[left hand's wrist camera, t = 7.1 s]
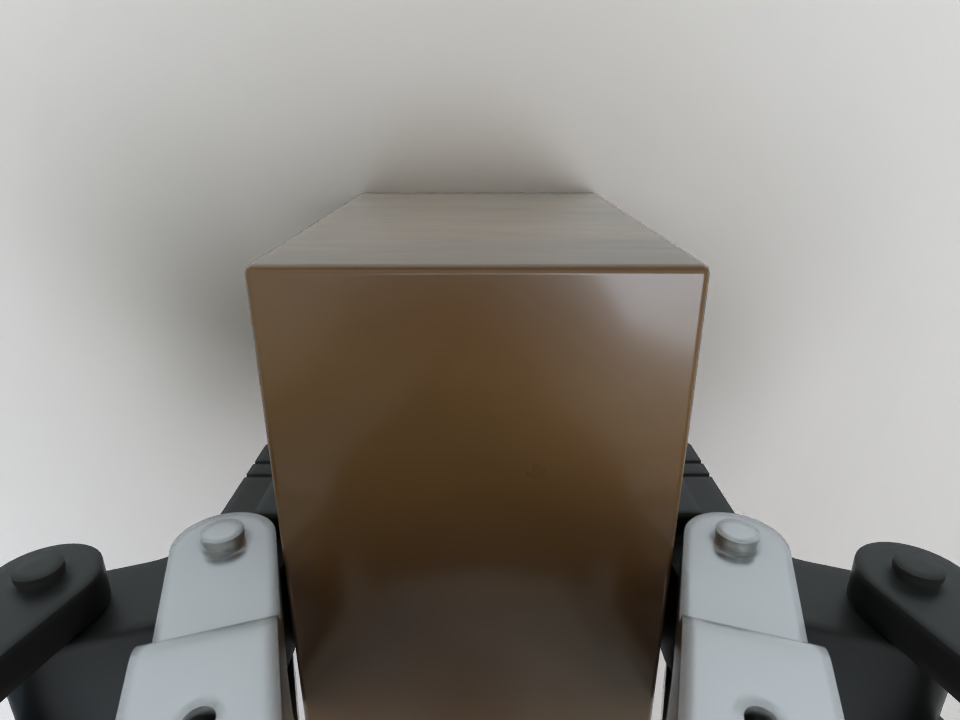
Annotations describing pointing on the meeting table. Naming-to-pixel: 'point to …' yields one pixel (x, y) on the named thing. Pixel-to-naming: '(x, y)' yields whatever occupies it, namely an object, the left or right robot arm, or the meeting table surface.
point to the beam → (477, 451)
